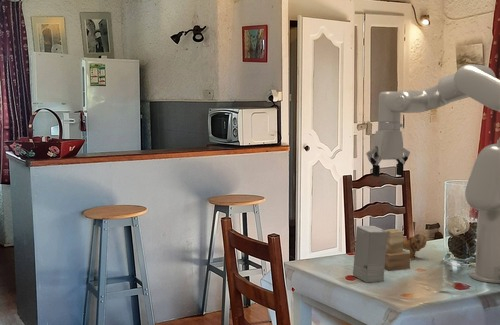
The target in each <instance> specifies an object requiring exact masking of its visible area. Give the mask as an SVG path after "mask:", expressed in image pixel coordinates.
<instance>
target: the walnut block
mask: <svg viewBox="0 0 500 325" xmlns="http://www.w3.org/2000/svg"><path fill="white" fill-rule="evenodd" d="M410 268H411V259H410V252H407V251H406V250H405V251H404V250H403V253H395V254H390V253H388V252H386V257H385V269H384V270H385V271H386V270H387V271H388V272H389V271H399V270H408V269H410Z"/></svg>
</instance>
